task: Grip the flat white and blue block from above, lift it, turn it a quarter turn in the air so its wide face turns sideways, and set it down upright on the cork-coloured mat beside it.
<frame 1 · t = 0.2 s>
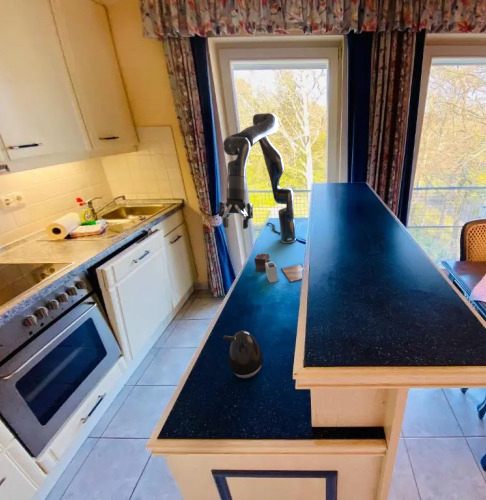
hand: (235, 228, 116), 31 cm above the table, tool tilted 20°, fingers open, 8 cm apart
cork mat: (295, 273, 141), on the table
pump dispenser: (248, 370, 89), on the table
box: (263, 268, 146), on the table
white and blue block: (272, 278, 137), on the table
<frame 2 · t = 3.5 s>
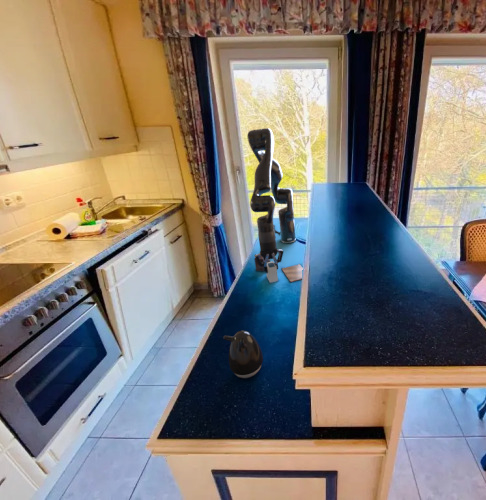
hand: (271, 271, 135), 4 cm above the table, tool pointing down, fingers closed on white and blue block, 4 cm apart
white and blue block: (272, 278, 137), on the table, touching gripper
everything else where it was.
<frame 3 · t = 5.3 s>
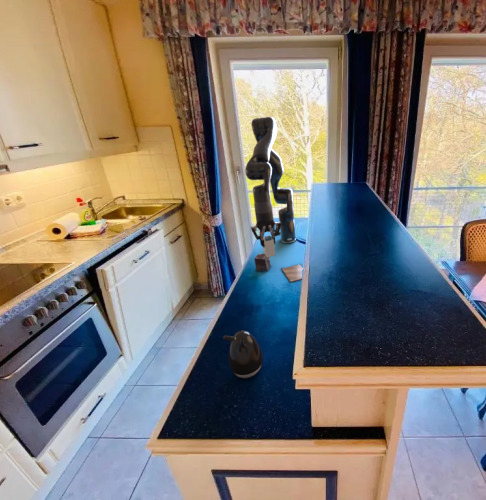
hand: (268, 245, 129), 18 cm above the table, tool pointing down, fingers closed on white and blue block, 4 cm apart
white and blue block: (269, 253, 131), point 14 cm above the table, touching gripper
everything else where it was.
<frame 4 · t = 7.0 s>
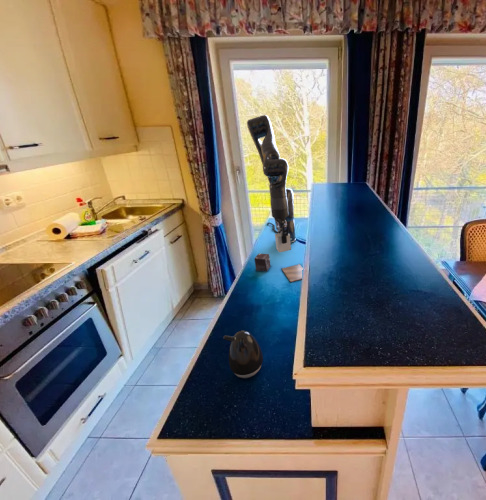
hand: (282, 241, 131), 19 cm above the table, tool pointing down, fingers closed on white and blue block, 4 cm apart
white and blue block: (283, 249, 133), point 14 cm above the table, touching gripper
everything else where it was.
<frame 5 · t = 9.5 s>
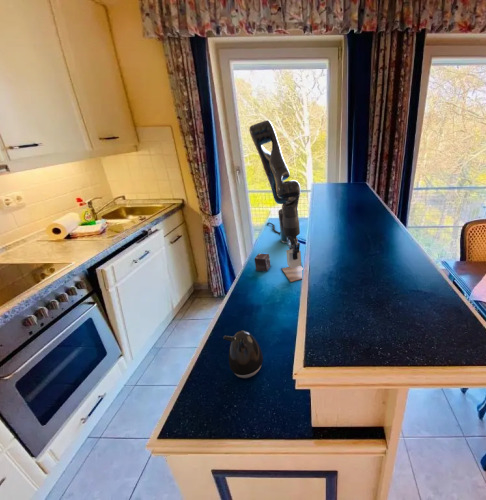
hand: (293, 257, 137), 9 cm above the table, tool pointing down, fingers closed on white and blue block, 4 cm apart
white and blue block: (294, 265, 139), point 5 cm above the table, touching gripper
everything else where it was.
when the fingers open (5 cm above the table, at t = 10.9 s): white and blue block stays where it is, resting on cork mat.
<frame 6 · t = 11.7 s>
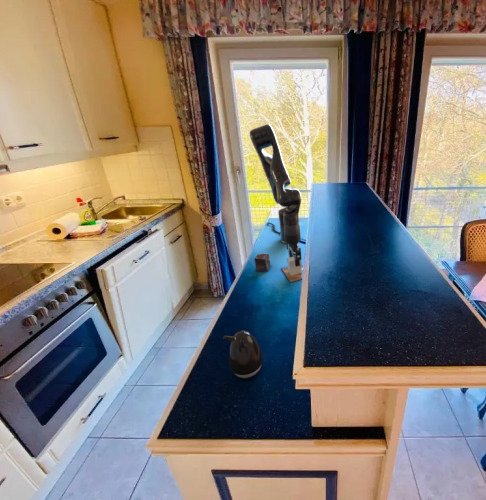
hand: (294, 262, 138), 6 cm above the table, tool pointing down, fingers open, 8 cm apart
white and blue block: (295, 272, 141), resting on cork mat
everything else where it was.
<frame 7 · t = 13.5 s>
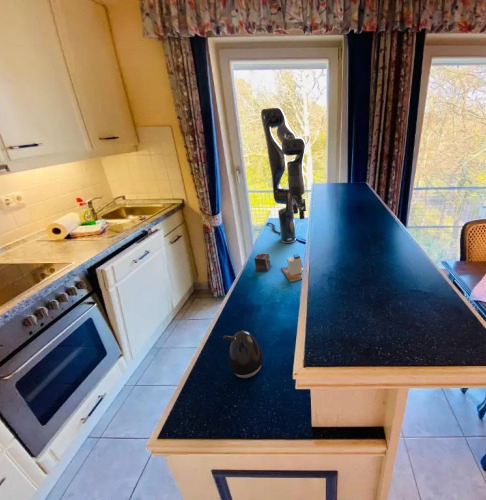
hand: (298, 216, 139), 26 cm above the table, tool pointing down, fingers open, 8 cm apart
nothing on the table moved.
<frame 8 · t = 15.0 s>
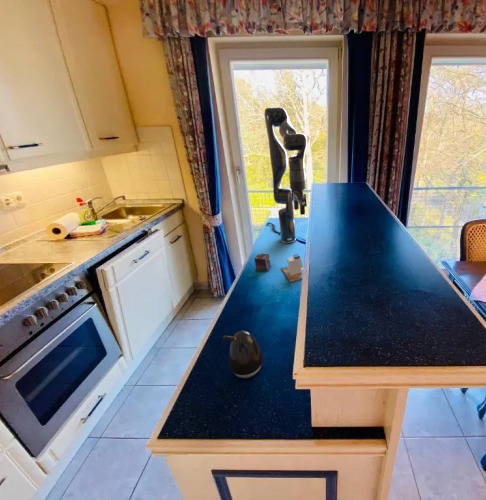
hand: (299, 211, 139), 28 cm above the table, tool pointing down, fingers open, 8 cm apart
nothing on the table moved.
at the end: white and blue block inside the target area on the cork mat (0.1 cm from its centre), point 0.4 cm above the cork mat's base; white and blue block tilted 0°; the gripper is holding nothing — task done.
